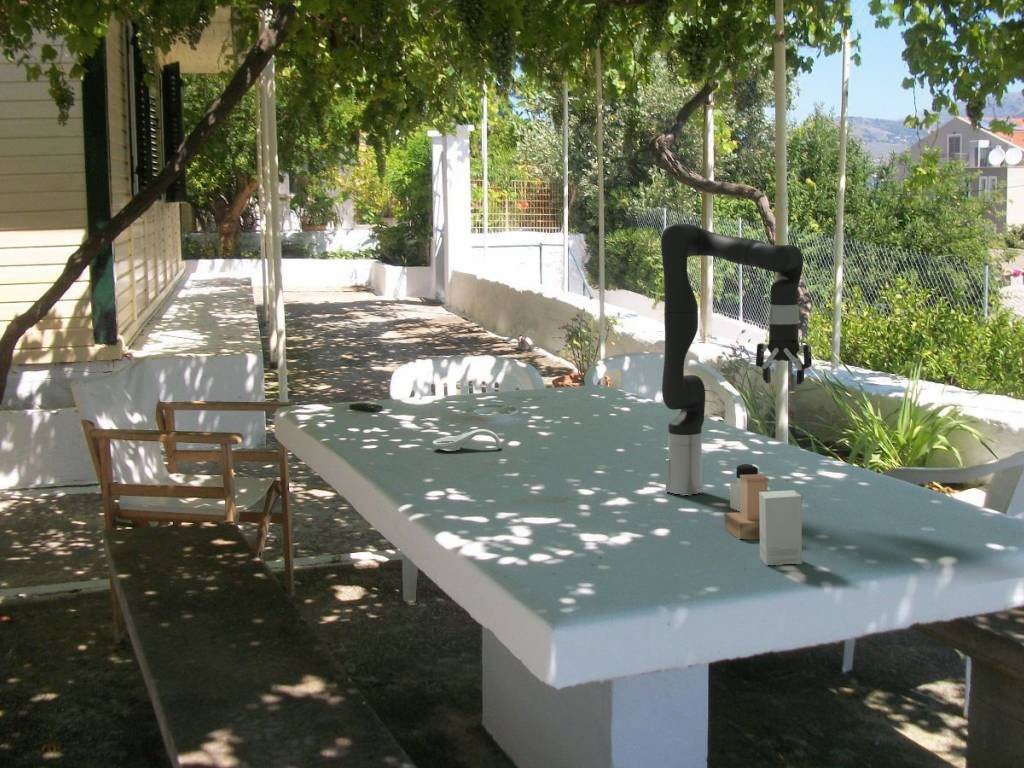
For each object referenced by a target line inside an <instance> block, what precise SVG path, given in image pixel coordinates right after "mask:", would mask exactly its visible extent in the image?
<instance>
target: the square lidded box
mask: <svg viewBox="0 0 1024 768" xmlns="http://www.w3.org/2000/svg"><path fill="white" fill-rule="evenodd" d="M740 479H741V516H742V517H744V518H745V519H747V520H757V519H760V513H759V492H769V491H768V490H769V489H768V487H769V485H768V482H769V481H770V479H769V477H767V476H765V474H762V473H760V474H751V475H740Z"/></svg>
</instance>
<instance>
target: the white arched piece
mask: <svg viewBox="0 0 1024 768" xmlns="http://www.w3.org/2000/svg"><path fill="white" fill-rule="evenodd" d="M481 434H483V435H484V434H485V435H488V436H490V437H492V438H493V439H494V440H495V443H496V446H497V445H501V446H502V444H501V443H502V442H501V440H500V438H499V436H498V435H497V434H496V433H495V432H493V431H492V430H489V429H486V428H485V429H484V428H480V429H475V430H472V431H469V432H466V433H463V434H458V435H455V436H454V435H453V436H447V437H441V438H437V439H435V440H433V441H432V445H433V446H434V445H436V446H443V447H444V446H461V445H465V444H466V445H467V444H468V443H469V441H471V440H472V439H473V438H474V437H476V436H478V435H481ZM441 441H454V442H449V443H437V442H441ZM466 445H465V446H466Z"/></svg>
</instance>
